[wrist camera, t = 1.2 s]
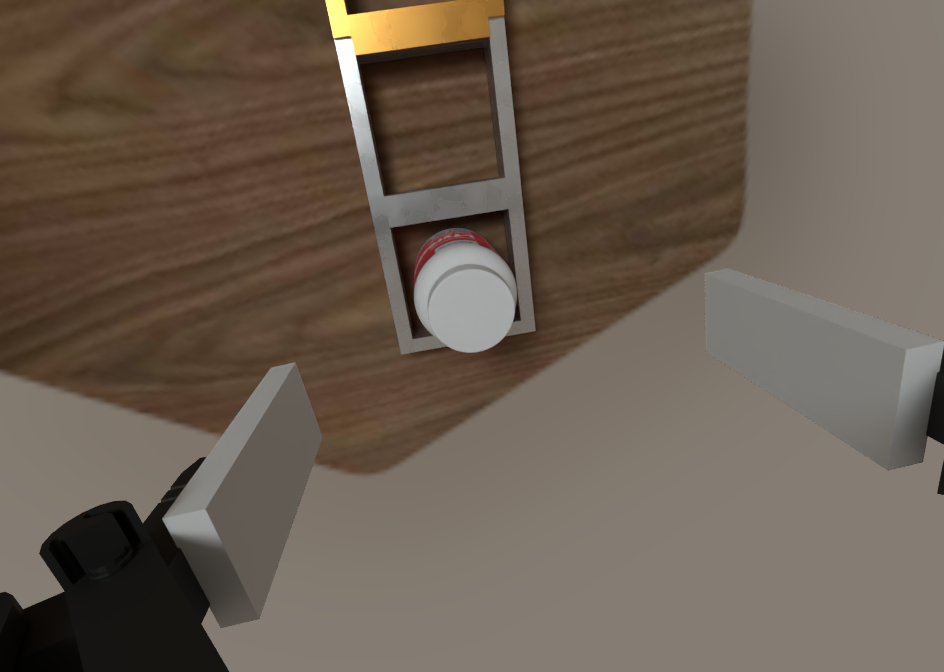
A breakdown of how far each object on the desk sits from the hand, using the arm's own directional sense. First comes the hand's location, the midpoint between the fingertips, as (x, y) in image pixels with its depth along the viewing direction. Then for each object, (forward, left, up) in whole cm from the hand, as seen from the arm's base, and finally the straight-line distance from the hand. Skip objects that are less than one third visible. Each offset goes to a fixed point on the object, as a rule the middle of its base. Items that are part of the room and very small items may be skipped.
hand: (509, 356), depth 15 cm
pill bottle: (0, -2, -21) cm, 21 cm away
